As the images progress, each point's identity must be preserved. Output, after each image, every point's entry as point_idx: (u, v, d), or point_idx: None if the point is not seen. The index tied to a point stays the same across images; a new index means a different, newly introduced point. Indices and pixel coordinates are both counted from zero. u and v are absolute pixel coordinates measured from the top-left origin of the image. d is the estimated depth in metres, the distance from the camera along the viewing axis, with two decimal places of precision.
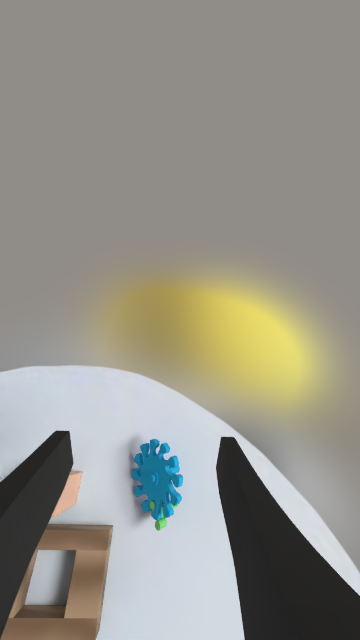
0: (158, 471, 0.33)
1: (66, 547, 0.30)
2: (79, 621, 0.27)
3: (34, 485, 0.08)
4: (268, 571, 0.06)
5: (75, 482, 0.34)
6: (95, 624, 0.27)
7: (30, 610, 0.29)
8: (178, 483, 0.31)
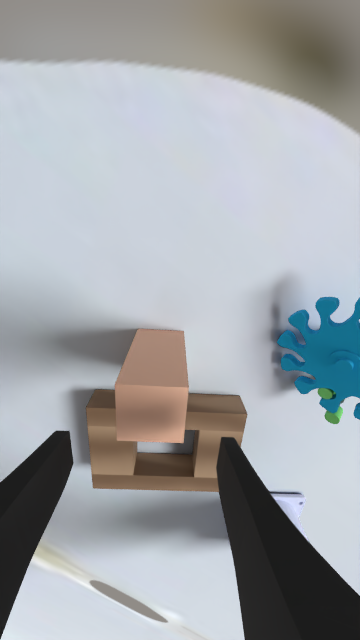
0: None
1: None
2: (212, 479, 0.23)
3: (34, 485, 0.08)
4: (268, 571, 0.06)
5: None
6: None
7: (147, 461, 0.24)
8: None
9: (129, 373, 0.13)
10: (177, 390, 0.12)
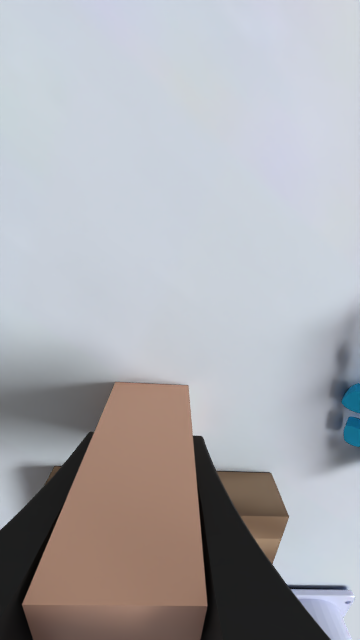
0: None
1: None
2: None
3: None
4: (208, 570, 0.06)
5: None
6: None
7: None
8: None
9: (70, 541, 0.06)
10: (180, 611, 0.05)
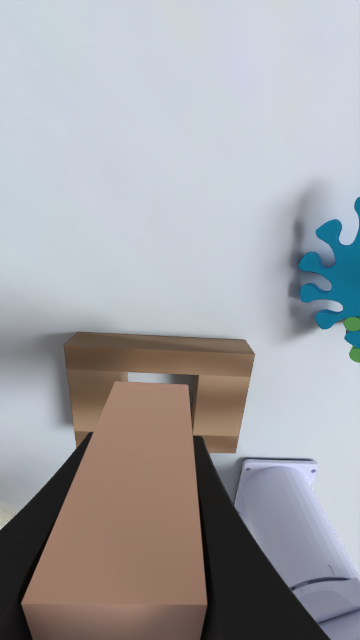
0: None
1: (181, 371, 0.17)
2: (213, 437, 0.20)
3: None
4: (209, 570, 0.06)
5: None
6: (236, 440, 0.20)
7: None
8: None
9: (69, 540, 0.06)
10: (180, 610, 0.05)
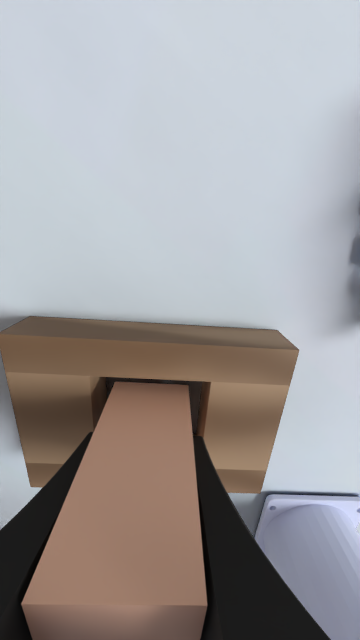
0: None
1: (183, 376, 0.11)
2: (230, 472, 0.14)
3: None
4: (208, 570, 0.06)
5: None
6: (262, 476, 0.14)
7: None
8: None
9: (70, 540, 0.06)
10: (180, 610, 0.05)
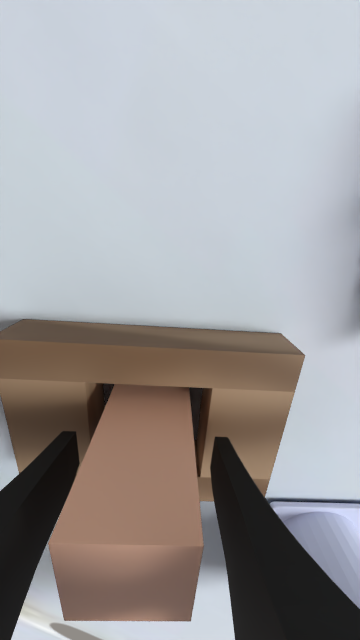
0: None
1: (184, 382, 0.11)
2: None
3: (43, 485, 0.08)
4: (256, 571, 0.06)
5: None
6: (265, 485, 0.13)
7: None
8: None
9: (86, 498, 0.07)
10: (181, 551, 0.06)
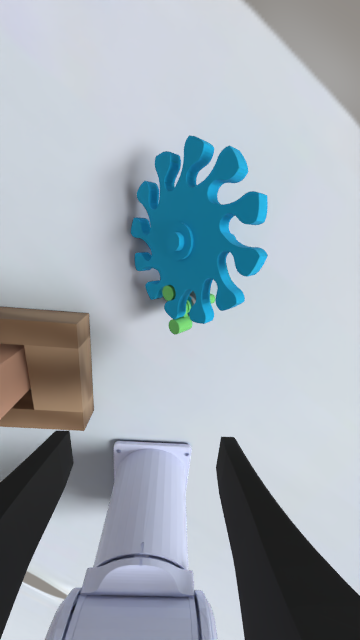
0: (196, 229, 0.12)
1: (3, 340, 0.17)
2: (57, 413, 0.19)
3: (34, 485, 0.08)
4: (268, 571, 0.06)
5: (16, 367, 0.18)
6: (81, 416, 0.19)
7: None
8: (252, 268, 0.11)
9: None
10: None
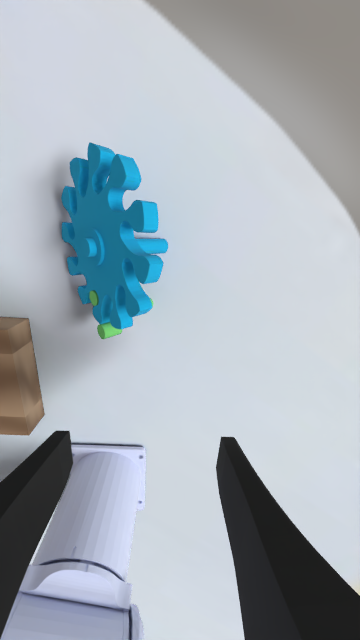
0: (104, 235, 0.12)
1: None
2: None
3: (34, 485, 0.08)
4: (268, 571, 0.06)
5: None
6: (24, 421, 0.19)
7: None
8: (146, 275, 0.11)
9: None
10: None
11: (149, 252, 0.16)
